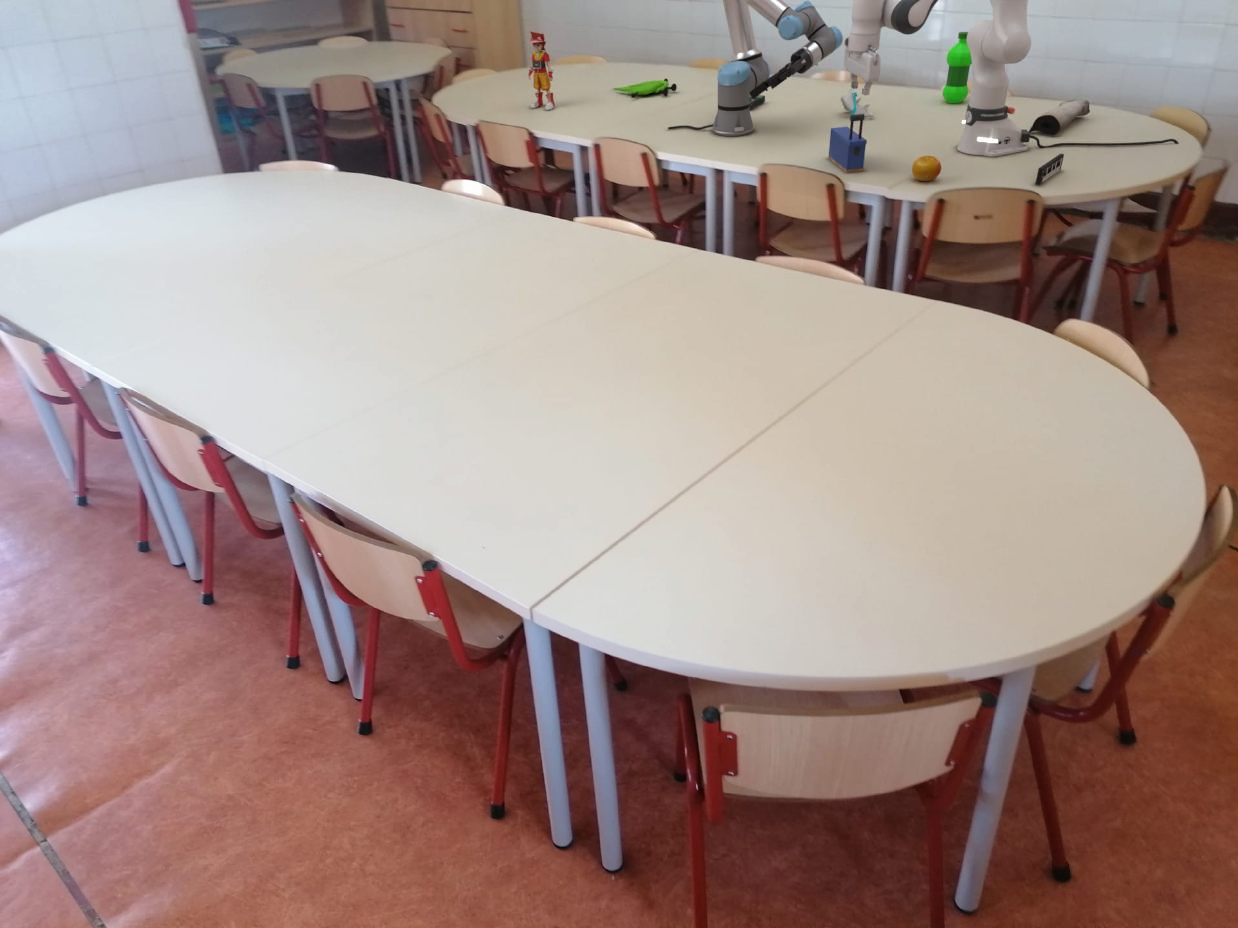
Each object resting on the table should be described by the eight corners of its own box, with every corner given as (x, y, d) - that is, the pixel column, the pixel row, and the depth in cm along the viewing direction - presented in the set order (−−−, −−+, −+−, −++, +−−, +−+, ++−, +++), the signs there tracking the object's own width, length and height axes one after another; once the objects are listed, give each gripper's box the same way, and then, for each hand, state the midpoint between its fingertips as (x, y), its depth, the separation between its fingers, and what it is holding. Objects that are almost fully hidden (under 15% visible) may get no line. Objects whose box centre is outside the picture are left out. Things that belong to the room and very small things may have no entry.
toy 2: (686, 85, 398) (631, 84, 414) (685, 72, 395) (629, 72, 411) (651, 104, 381) (596, 103, 397) (650, 92, 378) (594, 91, 394)
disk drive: (750, 111, 360) (765, 102, 370) (750, 104, 358) (765, 95, 368) (726, 109, 364) (742, 100, 375) (726, 102, 363) (742, 93, 373)
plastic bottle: (973, 101, 354) (984, 32, 339) (955, 106, 349) (966, 36, 335) (952, 97, 361) (962, 29, 346) (934, 102, 356) (944, 33, 342)
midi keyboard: (1039, 185, 269) (1043, 168, 266) (1035, 184, 270) (1038, 168, 267) (1060, 170, 279) (1064, 154, 277) (1056, 169, 280) (1060, 153, 277)
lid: (866, 144, 284) (869, 115, 279) (849, 145, 284) (852, 117, 279) (846, 130, 298) (849, 103, 294) (830, 131, 298) (832, 104, 293)
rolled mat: (1057, 104, 331) (1081, 87, 323) (1070, 125, 332) (1095, 108, 324) (1024, 126, 314) (1049, 109, 306) (1039, 148, 314) (1064, 131, 306)
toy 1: (525, 109, 381) (517, 32, 364) (534, 104, 388) (527, 28, 371) (550, 110, 377) (543, 32, 360) (559, 105, 384) (553, 28, 367)
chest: (863, 171, 290) (865, 143, 285) (846, 173, 289) (848, 145, 284) (844, 156, 303) (846, 130, 298) (828, 158, 303) (830, 131, 298)
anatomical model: (836, 88, 347) (861, 81, 346) (838, 115, 353) (863, 108, 352) (847, 98, 335) (873, 90, 334) (849, 125, 341) (875, 118, 340)
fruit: (905, 171, 275) (922, 148, 272) (907, 173, 283) (923, 151, 280) (928, 186, 274) (945, 163, 271) (929, 188, 282) (946, 166, 279)
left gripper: (830, 58, 303) (784, 91, 299) (792, 78, 326) (749, 109, 322) (819, 37, 301) (773, 70, 297) (782, 59, 324) (738, 90, 320)
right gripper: (888, 48, 261) (882, 98, 269) (861, 36, 278) (857, 84, 286) (867, 50, 261) (862, 100, 269) (842, 38, 278) (838, 85, 285)
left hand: (760, 90), depth 309 cm, fingers open, 13 cm apart
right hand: (859, 91), depth 278 cm, fingers open, 8 cm apart
